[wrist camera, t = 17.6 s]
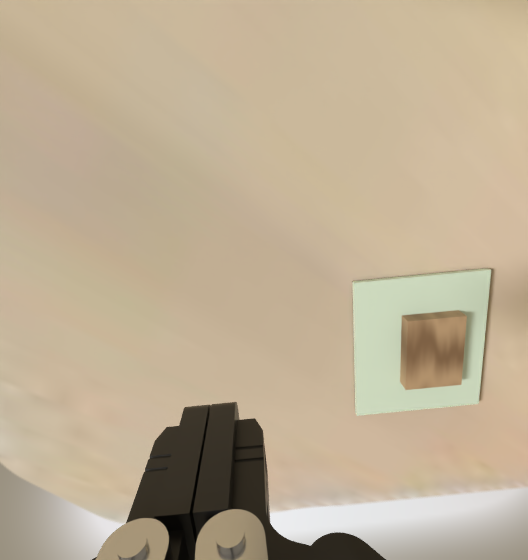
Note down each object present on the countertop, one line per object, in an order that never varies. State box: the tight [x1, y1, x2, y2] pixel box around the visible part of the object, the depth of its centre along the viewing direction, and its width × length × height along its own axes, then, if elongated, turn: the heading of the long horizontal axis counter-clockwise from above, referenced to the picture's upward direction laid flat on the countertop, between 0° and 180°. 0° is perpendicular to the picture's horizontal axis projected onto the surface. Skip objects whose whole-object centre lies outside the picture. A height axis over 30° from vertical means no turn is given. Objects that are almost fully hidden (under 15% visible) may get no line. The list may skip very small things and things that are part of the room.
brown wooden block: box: [400, 310, 467, 390], centre depth 39 cm, size 8×2×6 cm
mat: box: [353, 268, 491, 416], centre depth 40 cm, size 16×14×1 cm
